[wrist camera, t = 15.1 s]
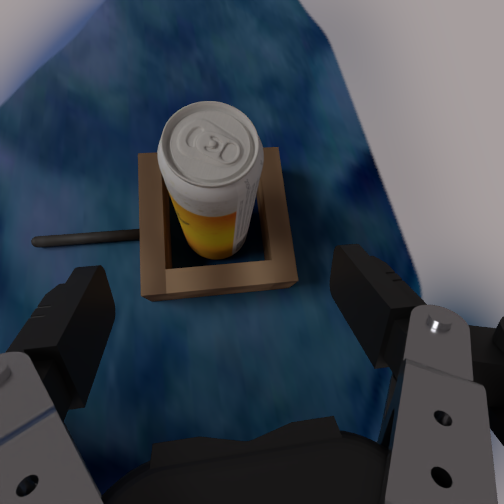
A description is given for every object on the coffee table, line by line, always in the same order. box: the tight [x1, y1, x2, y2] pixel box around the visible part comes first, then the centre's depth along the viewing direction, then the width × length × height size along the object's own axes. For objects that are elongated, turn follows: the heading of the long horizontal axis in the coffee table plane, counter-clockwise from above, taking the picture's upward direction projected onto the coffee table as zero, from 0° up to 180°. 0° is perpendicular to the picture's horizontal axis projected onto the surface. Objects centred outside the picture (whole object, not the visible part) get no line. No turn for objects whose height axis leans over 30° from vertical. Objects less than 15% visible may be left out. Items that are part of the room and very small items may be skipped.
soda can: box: [158, 101, 264, 259], centre depth 24 cm, size 6×6×15 cm
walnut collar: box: [31, 147, 298, 301], centre depth 29 cm, size 24×13×4 cm, turn 96°
